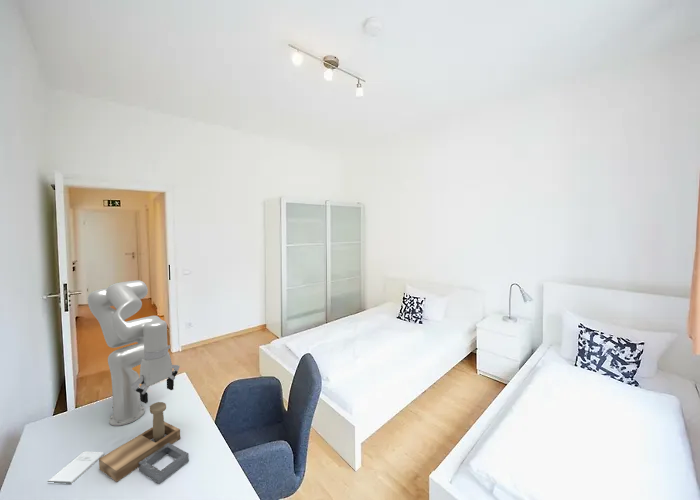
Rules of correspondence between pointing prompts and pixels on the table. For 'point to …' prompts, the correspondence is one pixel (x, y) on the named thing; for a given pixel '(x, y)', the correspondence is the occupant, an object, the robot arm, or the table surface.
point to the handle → (158, 420)
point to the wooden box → (135, 452)
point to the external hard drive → (76, 467)
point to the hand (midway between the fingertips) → (157, 395)
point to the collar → (160, 476)
